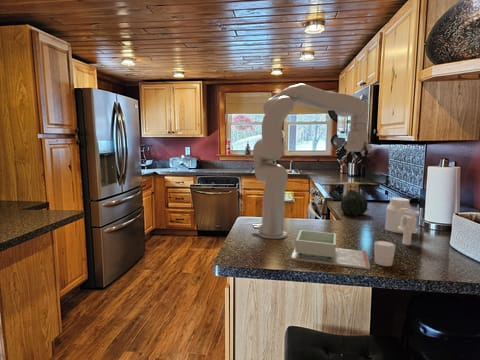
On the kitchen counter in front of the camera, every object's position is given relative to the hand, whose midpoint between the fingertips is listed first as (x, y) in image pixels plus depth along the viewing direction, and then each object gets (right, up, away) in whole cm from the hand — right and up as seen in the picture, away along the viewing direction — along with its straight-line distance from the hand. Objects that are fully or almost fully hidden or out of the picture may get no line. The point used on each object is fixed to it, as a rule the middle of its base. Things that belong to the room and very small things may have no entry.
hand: (356, 163), depth 152 cm
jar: (+19, -32, -1) cm, 38 cm away
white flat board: (-24, -36, -38) cm, 57 cm away
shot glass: (-6, -37, -43) cm, 57 cm away
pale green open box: (-28, -35, -36) cm, 58 cm away
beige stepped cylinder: (+13, -35, -22) cm, 43 cm away
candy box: (+16, -25, +53) cm, 61 cm away
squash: (+9, -28, +29) cm, 41 cm away
